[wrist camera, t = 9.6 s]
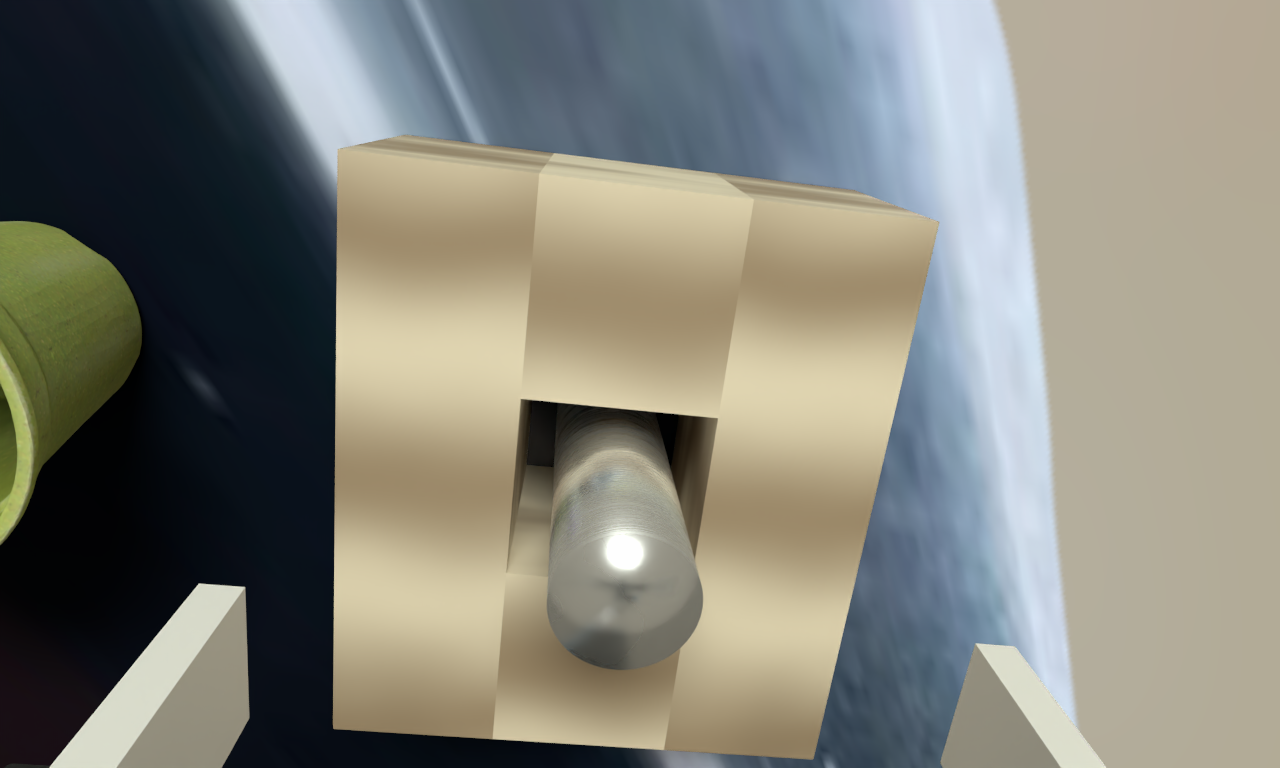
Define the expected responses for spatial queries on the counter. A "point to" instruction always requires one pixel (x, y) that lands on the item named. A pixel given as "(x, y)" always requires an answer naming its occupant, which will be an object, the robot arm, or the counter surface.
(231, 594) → the robot arm
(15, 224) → the plant pot
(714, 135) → the counter surface
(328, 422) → the counter surface
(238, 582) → the counter surface
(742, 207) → the birch block
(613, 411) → the steel pin
